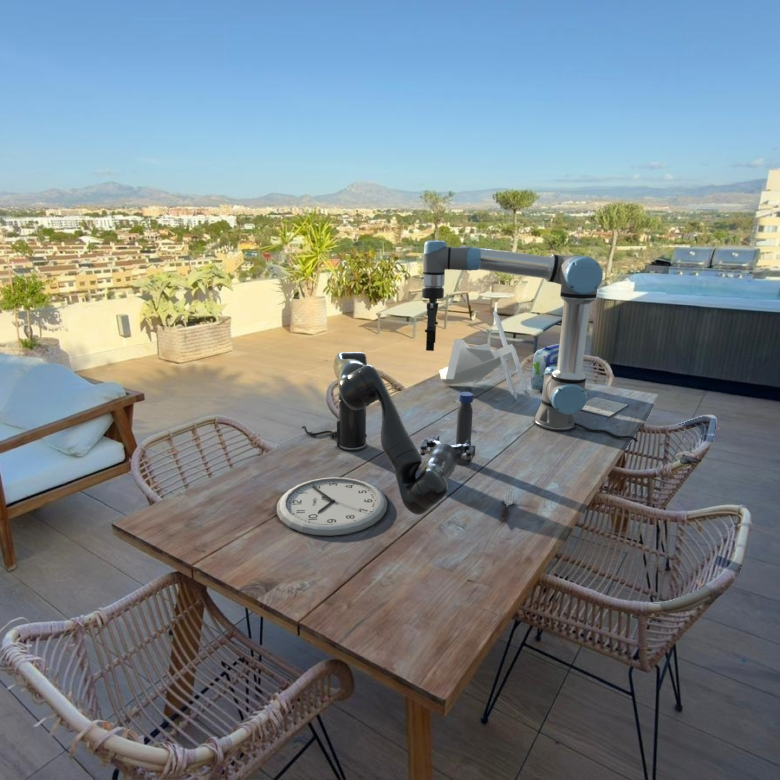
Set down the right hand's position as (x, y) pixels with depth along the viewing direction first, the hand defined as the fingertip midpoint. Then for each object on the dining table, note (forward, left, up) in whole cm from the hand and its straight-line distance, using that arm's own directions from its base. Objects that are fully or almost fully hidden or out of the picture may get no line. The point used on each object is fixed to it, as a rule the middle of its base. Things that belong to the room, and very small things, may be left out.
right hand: (430, 346), depth 188 cm
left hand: (-9, +48, -16) cm, 51 cm away
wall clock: (+23, +61, -32) cm, 72 cm away
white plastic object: (-22, -50, -32) cm, 63 cm away
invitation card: (-73, -38, -32) cm, 89 cm away
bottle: (-13, +27, -32) cm, 44 cm away
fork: (-24, +57, -32) cm, 69 cm away
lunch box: (-56, -62, -32) cm, 90 cm away
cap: (-13, +27, -9) cm, 31 cm away
